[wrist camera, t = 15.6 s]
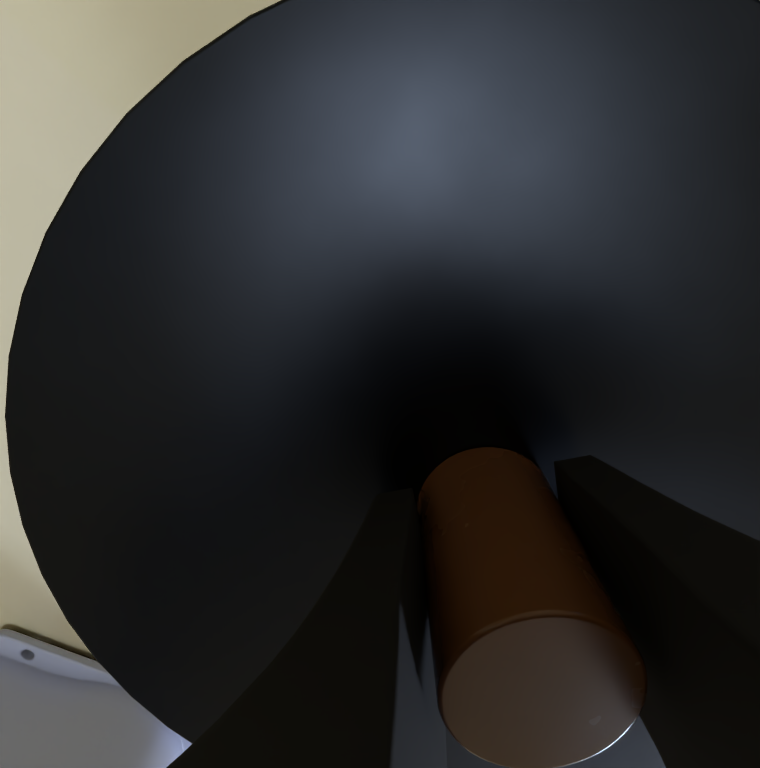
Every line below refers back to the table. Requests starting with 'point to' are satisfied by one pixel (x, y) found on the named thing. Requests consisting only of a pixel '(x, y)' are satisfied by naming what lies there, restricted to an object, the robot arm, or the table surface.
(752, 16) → the lid
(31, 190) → the table surface
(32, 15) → the table surface
